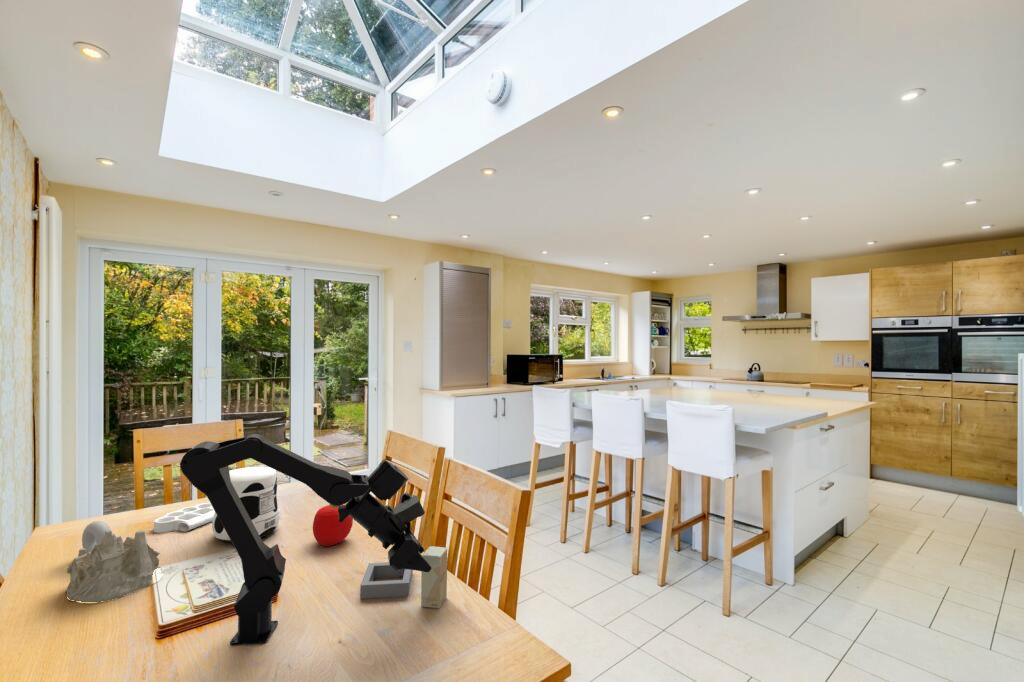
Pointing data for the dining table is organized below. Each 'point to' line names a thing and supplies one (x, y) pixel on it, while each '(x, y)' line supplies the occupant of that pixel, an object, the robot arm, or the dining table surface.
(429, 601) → the box
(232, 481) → the milk container
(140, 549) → the grey castle model
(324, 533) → the tomato
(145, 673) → the dining table surface
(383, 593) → the block
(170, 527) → the white dimpled tray
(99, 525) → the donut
